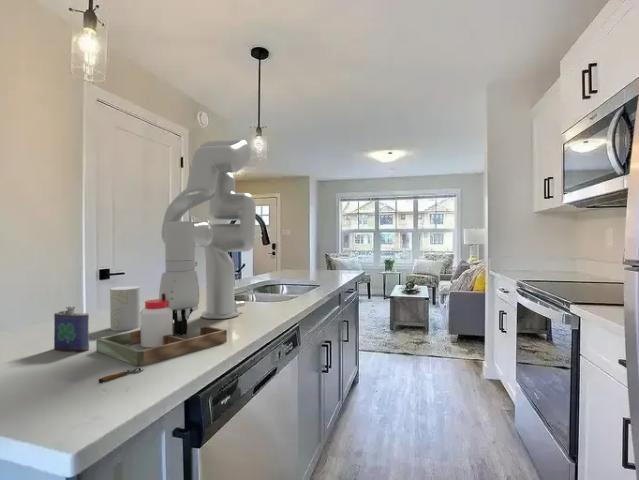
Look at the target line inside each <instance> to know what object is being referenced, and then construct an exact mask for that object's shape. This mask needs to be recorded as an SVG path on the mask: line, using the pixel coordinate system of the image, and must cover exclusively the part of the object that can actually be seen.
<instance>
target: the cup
mask: <svg viewBox="0 0 639 480" xmlns="http://www.w3.org/2000/svg"><path fill="white" fill-rule="evenodd" d="M109 302H110V305H109V311H110V316H109V318H110V322H109V323H110V330H111V331H117V332H118V331H120V332H121V331H122V332H123V331H130V330H135V329H140V312H141V286H139V285H138V286H135V285H129V286H127V285H125V286H115V287H111V288H110V289H109Z"/></svg>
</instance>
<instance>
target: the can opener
mask: <svg viewBox="0 0 639 480" xmlns="http://www.w3.org/2000/svg"><path fill="white" fill-rule="evenodd" d="M144 371H145V368H144V369H141V367H140V366H137V367H136V368H134V369H131V370H130V369H127V370H126V371H125V370H124V371H121V372H118V373H115V374H109V375H105V376H103V377H100V378H99V379H98V383H99V384H104V383H107V382H110V380H111V381H113V380H116V379H118V378H123V377H124V376H125V377H126V376H128V375H136V374H139V373H142V372H144ZM103 382H104V383H103Z"/></svg>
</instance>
